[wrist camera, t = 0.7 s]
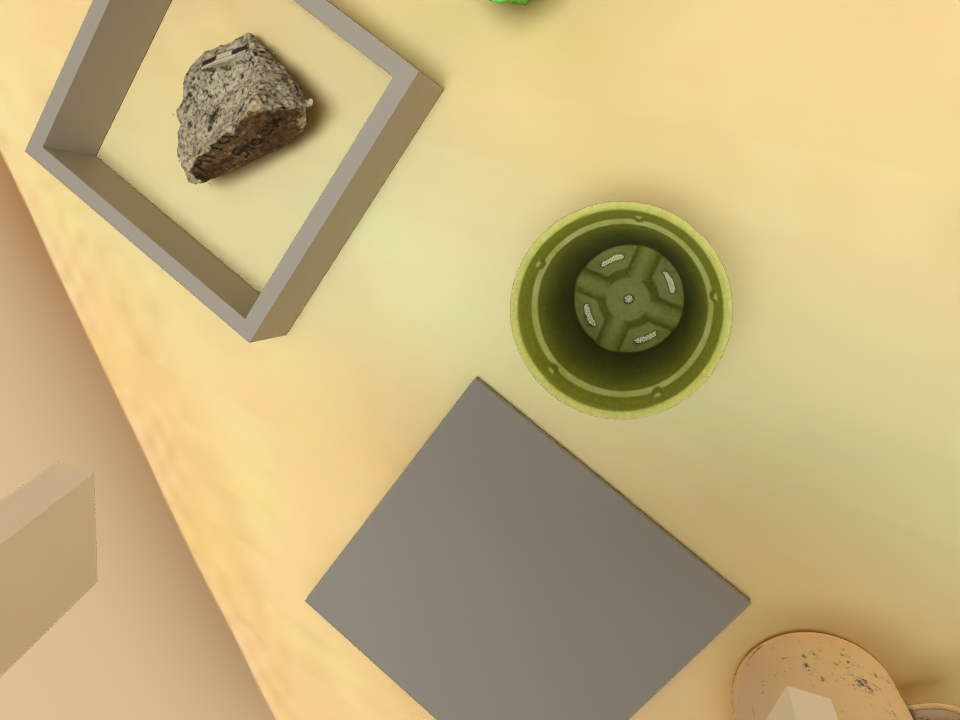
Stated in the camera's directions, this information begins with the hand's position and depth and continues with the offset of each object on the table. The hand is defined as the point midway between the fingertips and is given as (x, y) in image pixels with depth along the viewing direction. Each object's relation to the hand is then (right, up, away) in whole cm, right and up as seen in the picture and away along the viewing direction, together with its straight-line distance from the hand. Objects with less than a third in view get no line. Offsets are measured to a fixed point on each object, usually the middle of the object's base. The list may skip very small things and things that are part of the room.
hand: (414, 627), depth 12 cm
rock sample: (-13, +20, +29) cm, 38 cm away
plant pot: (+9, +8, +25) cm, 28 cm away
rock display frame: (-13, +19, +29) cm, 37 cm away
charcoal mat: (+3, -10, +29) cm, 31 cm away
